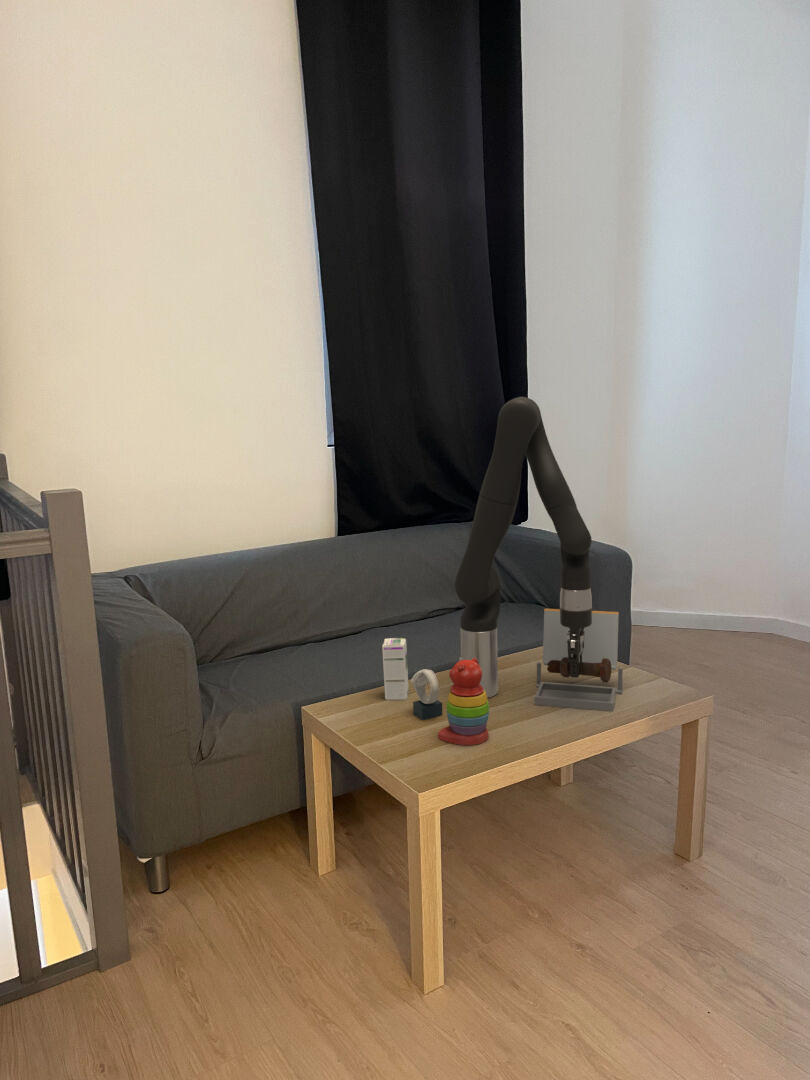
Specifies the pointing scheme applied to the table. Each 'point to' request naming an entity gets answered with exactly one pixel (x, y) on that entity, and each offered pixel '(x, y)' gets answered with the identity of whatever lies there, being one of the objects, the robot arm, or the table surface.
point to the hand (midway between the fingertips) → (576, 672)
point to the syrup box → (395, 669)
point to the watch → (426, 705)
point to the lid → (596, 642)
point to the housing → (576, 694)
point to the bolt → (582, 668)
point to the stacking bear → (466, 706)
